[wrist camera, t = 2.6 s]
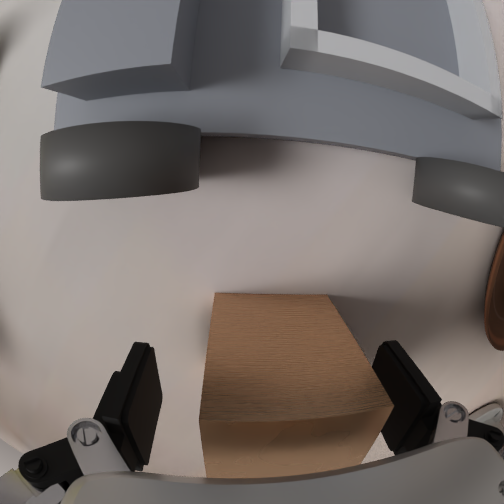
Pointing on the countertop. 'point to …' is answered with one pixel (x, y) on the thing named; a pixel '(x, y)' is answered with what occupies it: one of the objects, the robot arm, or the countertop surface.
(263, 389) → the wooden block
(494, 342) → the cup and saucer
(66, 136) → the chassis
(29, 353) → the countertop surface
